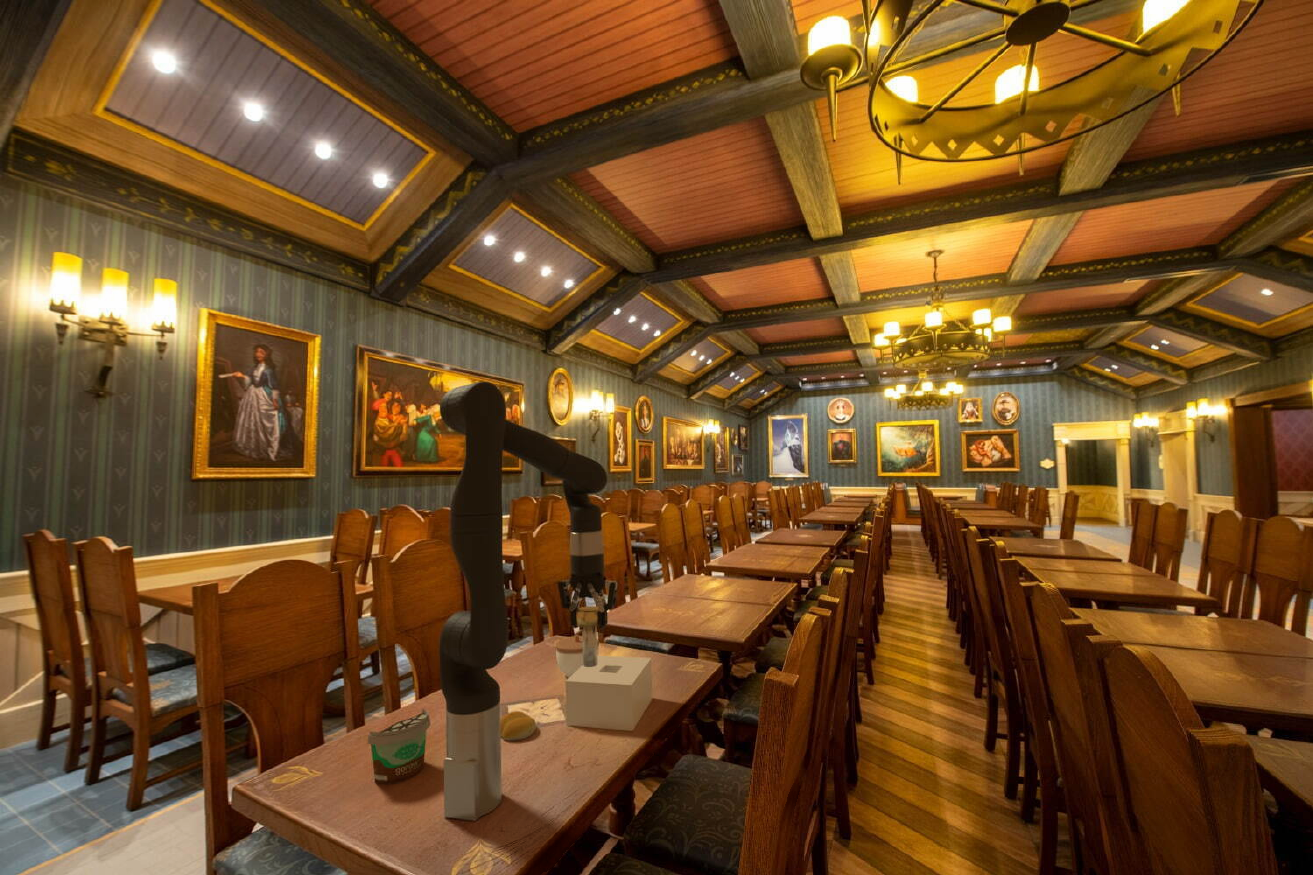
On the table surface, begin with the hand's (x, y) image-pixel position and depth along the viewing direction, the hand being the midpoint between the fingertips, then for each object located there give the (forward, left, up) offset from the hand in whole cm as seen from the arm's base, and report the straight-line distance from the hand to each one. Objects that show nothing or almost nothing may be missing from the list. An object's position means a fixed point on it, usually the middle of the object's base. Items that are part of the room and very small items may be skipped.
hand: (589, 627), depth 120 cm
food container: (-21, +31, -24) cm, 44 cm away
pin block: (+13, 0, -24) cm, 27 cm away
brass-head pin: (0, 0, -8) cm, 8 cm away
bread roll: (0, +18, -24) cm, 30 cm away
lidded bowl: (+35, +18, -24) cm, 47 cm away
